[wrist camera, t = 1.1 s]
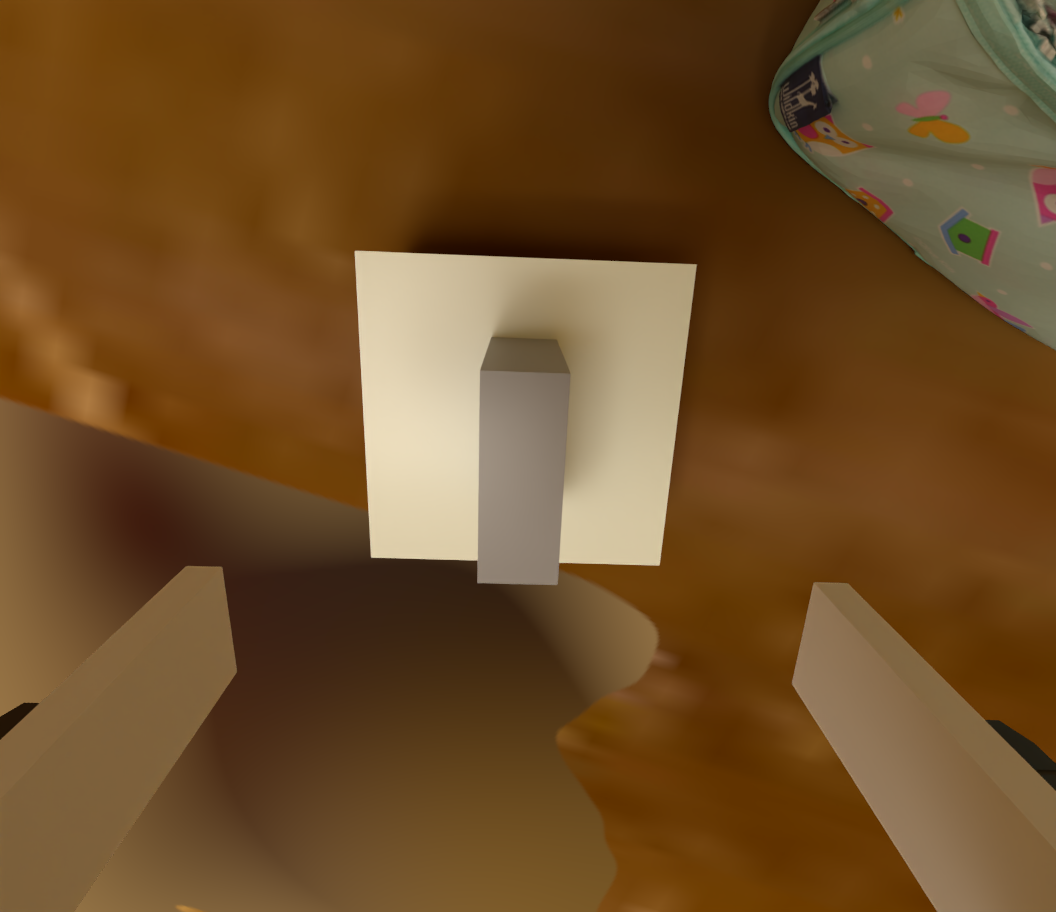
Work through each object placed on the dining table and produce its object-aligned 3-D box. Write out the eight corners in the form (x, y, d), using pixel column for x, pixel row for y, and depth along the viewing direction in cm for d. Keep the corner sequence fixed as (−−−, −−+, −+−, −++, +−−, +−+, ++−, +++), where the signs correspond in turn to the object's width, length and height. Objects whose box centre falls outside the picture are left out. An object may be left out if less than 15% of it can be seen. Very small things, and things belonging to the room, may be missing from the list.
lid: (365, 250, 28) (286, 251, 18) (684, 263, 28) (768, 270, 19) (379, 539, 33) (322, 657, 23) (651, 547, 33) (704, 666, 24)
